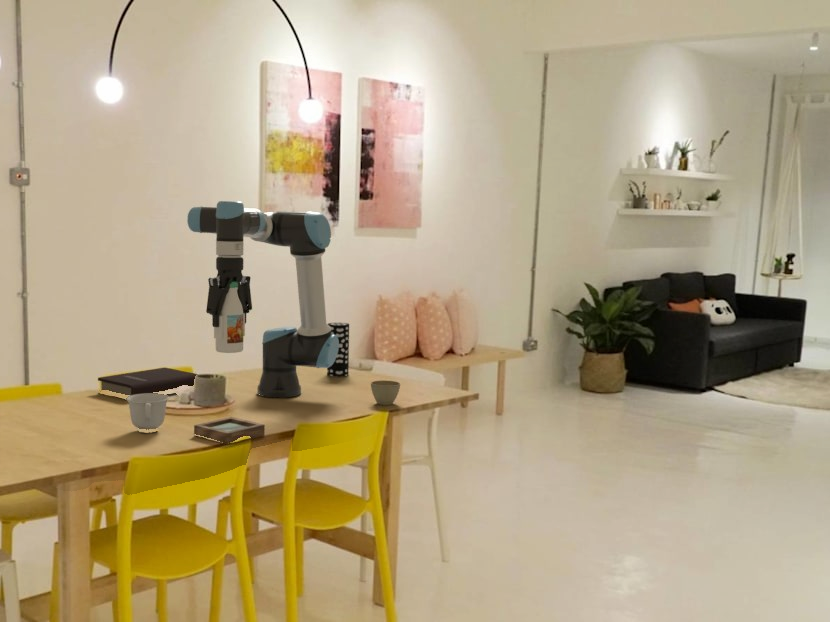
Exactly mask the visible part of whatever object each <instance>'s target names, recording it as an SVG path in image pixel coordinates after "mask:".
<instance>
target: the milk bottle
mask: <svg viewBox="0 0 830 622" xmlns="http://www.w3.org/2000/svg"><path fill="white" fill-rule="evenodd" d="M230 287H235V288H230V289H229V292H228V293H227V294H226V297H225V301H224V304H223V307H222V310H221V313H220V315H221V316H223V339H217V338H215V351H216V352H217V353H222V354H223V353H225V354H236V353H242V352H243V350H244V336H243V308H242V304H241V302H240V300H239V297H238V294H237V289H238V283H237V282H236V281H232V283H231V284H230ZM222 289H224V288H222Z"/></svg>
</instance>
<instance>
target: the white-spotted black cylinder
mask: <svg viewBox="0 0 830 622" xmlns="http://www.w3.org/2000/svg"><path fill="white" fill-rule="evenodd" d="M327 324H328V325H329V326H330V327H331V332H332V334H334V335H336V336H337V337H338V339H339V349H338V354H337V357H336V359H335V361H334V363H333V364H332V365H331V366H330V367H328V368H326V370H327V371H326V375H327V376H329V377H332V378H333V377H335V378H336V377H337V378H338V377H347V376H349V367H350V366H349V361H350V360H349V359H350V358H349V355H350V352H349V351H350V323H349V322H329V323H327Z"/></svg>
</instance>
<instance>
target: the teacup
mask: <svg viewBox="0 0 830 622" xmlns="http://www.w3.org/2000/svg"><path fill="white" fill-rule="evenodd" d="M169 399H170V395H164V394H158V393H144V394H135V395H131V396H128V397H127V398H126V400H127V402H128V408H129V413H130V414H129V415H130V420H131V423H132V425H133V426H134V427H136V428H137V429H138V428H139V429H146V430H147V429H148V430H149V429H156V428H158V429H159V427H160V426H162V425H163V424H164V421H165V417H166V409H167V403H168V400H169ZM126 400H125V401H126Z"/></svg>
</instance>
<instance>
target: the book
mask: <svg viewBox="0 0 830 622" xmlns="http://www.w3.org/2000/svg"><path fill="white" fill-rule="evenodd" d="M196 375H198V374H197V373H194V372H190V371H183V370H180V369H175V368H174V369H173V368H169V367H159V368H151V369H146V370H140V371H132V372H128V373H120V374H113V375H112V374H111V375H106V376H100V377H97V381H99V382H100V383H101V391H102V390H109V391H112V392H116V393H121V394H125V395H130V396H131V395H135V394H144V393H153V392H159V391H165V390H168V389H173V388H177V387H179V386H182V385H188V386H193V385H194V379H195V376H196Z"/></svg>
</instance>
